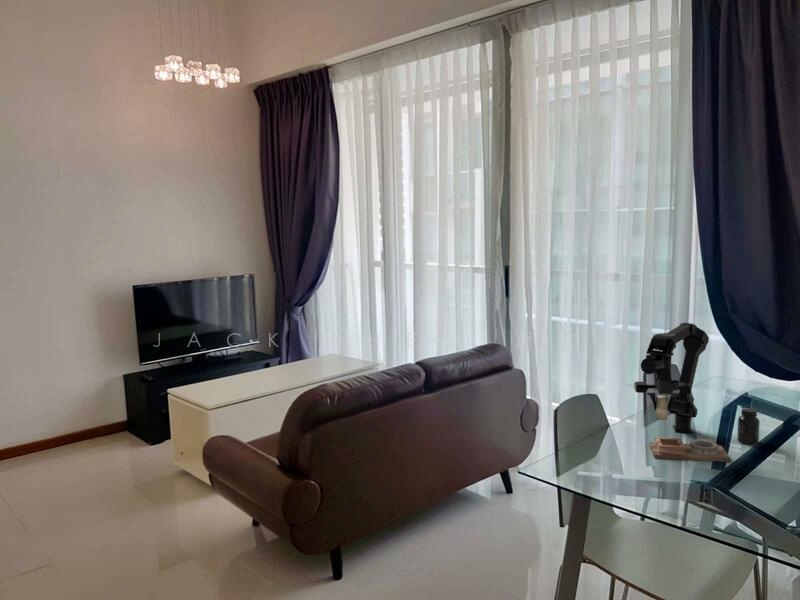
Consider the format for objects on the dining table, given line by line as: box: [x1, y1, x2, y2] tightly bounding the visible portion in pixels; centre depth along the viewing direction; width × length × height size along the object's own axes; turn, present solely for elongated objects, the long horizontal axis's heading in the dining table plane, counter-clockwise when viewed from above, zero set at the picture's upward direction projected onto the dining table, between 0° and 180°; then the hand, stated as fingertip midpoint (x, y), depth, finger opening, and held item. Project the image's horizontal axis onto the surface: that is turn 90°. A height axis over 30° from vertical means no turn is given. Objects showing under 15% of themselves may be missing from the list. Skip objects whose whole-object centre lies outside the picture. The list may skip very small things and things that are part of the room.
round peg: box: [655, 395, 669, 421], centre depth 226 cm, size 4×4×8 cm
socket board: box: [648, 437, 731, 463], centre depth 216 cm, size 12×24×4 cm, turn 77°
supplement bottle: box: [736, 407, 761, 446], centre depth 223 cm, size 7×7×12 cm
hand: (661, 410), depth 227 cm, fingers closed on round peg, 4 cm apart
